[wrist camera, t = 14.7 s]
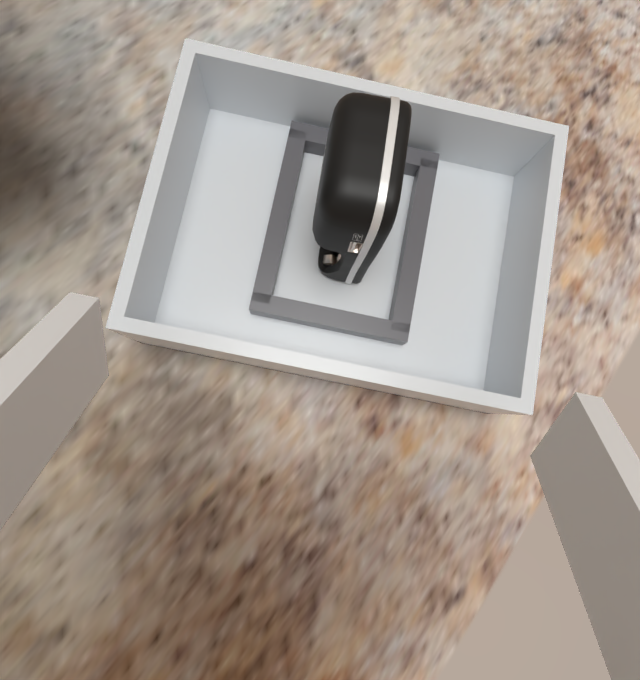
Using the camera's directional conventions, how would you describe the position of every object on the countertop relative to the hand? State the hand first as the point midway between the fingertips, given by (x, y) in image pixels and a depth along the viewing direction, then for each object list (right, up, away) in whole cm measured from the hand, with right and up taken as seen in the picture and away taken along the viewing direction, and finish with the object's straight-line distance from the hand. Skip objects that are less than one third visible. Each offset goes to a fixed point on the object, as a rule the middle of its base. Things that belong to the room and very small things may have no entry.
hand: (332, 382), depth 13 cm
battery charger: (+1, +8, +19) cm, 21 cm away
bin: (+1, +7, +20) cm, 21 cm away
